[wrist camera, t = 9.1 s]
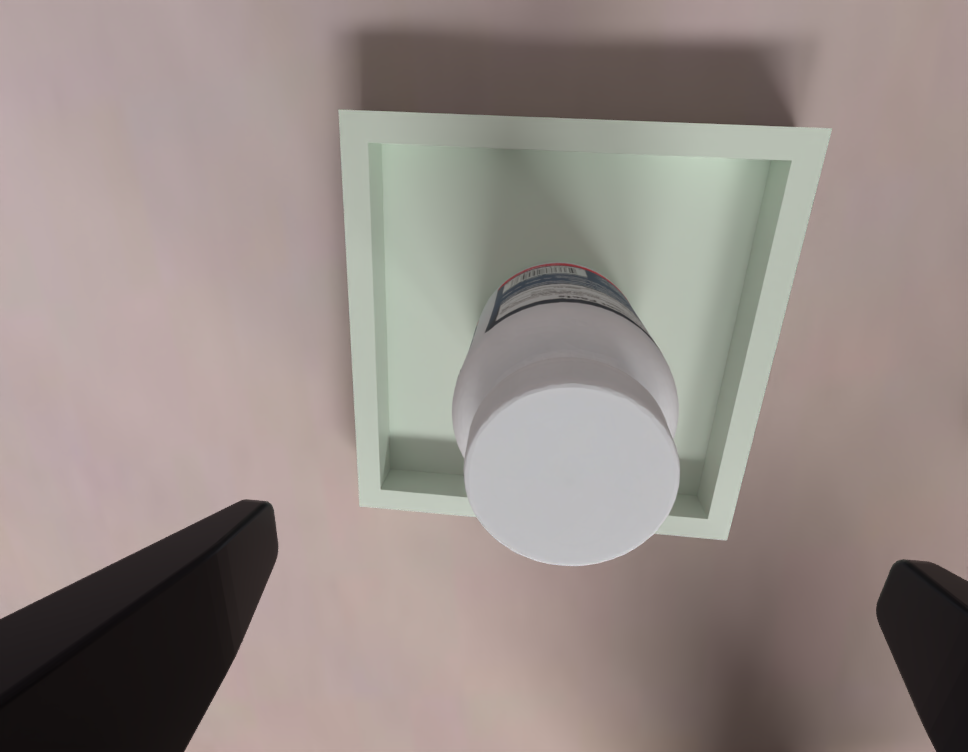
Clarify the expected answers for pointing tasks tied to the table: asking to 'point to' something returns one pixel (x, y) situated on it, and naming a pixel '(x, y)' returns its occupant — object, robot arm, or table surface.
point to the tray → (574, 239)
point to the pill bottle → (566, 419)
